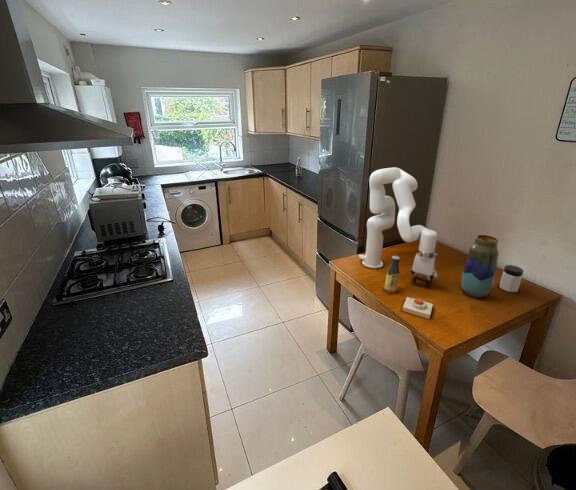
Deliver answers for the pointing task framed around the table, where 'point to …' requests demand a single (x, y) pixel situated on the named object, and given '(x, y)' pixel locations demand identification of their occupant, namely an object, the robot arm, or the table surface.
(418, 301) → the button
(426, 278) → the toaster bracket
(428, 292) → the table surface
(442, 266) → the table surface
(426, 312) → the block
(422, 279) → the toaster lever
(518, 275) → the jar
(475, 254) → the vase
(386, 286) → the sauce bottle
